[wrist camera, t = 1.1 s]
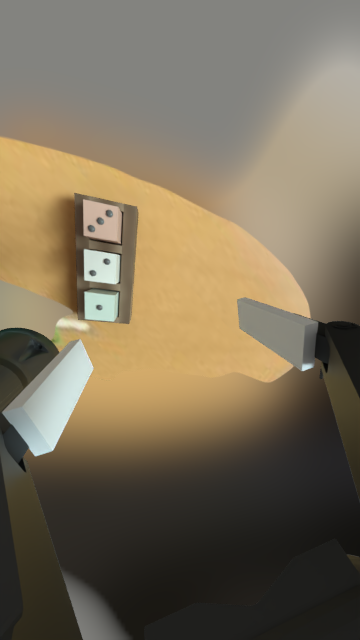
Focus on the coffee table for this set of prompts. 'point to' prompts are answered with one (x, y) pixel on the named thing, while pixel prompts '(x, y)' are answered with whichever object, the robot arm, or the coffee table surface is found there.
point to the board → (126, 250)
